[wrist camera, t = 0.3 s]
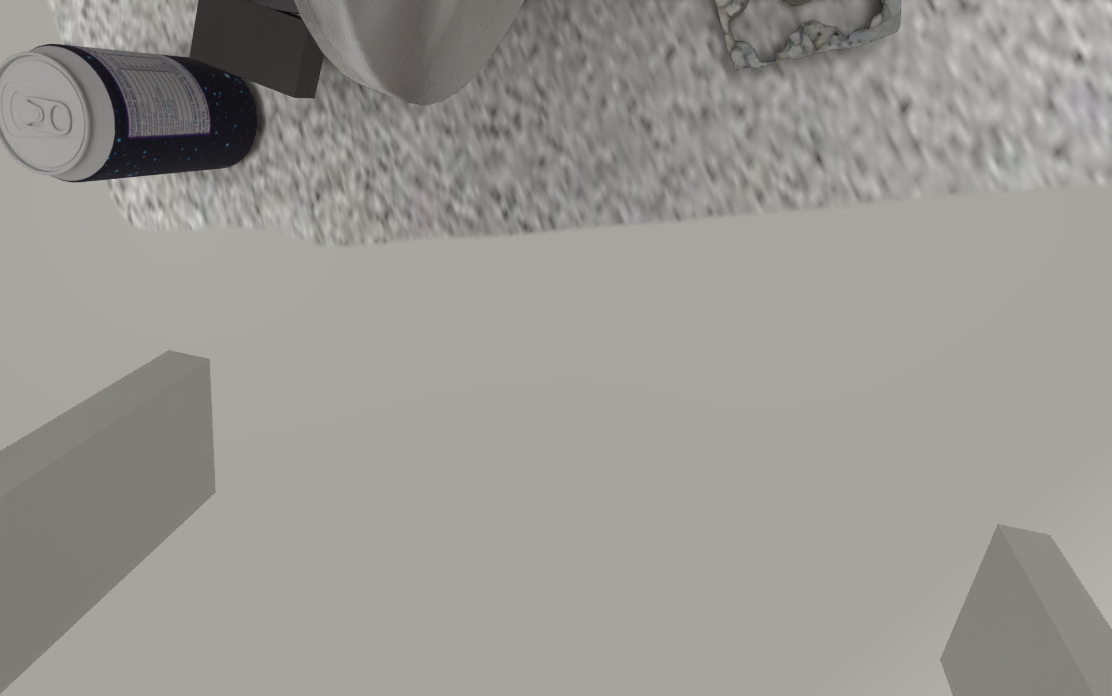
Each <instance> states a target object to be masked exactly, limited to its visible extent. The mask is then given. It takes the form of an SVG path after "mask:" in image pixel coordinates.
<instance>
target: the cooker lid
mask: <svg viewBox="0 0 1112 696" xmlns="http://www.w3.org/2000/svg"><path fill="white" fill-rule="evenodd" d="M294 1H295V4H296V6H297V9H298V11H299V13H300V16H301V18H302V20H303V21H304V23H305V25H306V26H307V28H308V30H309V31H310V33H311V35H312V36H313V38H314V40H315V41H316V43H317V44H318V46H319V48H320V49H321V51H322V52H323V54H324V55H325V56H326V57H327V58H328V59H329V60H330V61H331V62H332V63H333V64H334V65H335V66H336V67H337V68H338V70H339V71H340V72H341V73H342V74H344V75H345V76H347V77H349V78H350V79H352V80H354V81H355V82H357V83H359V84H361V85H362V86H365V87H368V88H370V89H373V90H376V91H378V92H381V93H384V94H387V95H389V96H392V97H395V98H398V99H400V100H403V101H406V102H409V103H414V104H420V105H429V104H433V103H437V102H441V101H444V100H445V99H447V98H449V97H450V96H452V95H453V94H455V93H457V92H458V91H459V90H461V89H462V88H463V87H464V86H465V85H466V84H467V83H468V82H469V81H470V80H471V79H473V78H474V76H475V75H476V74H477V73H478V72H479V70H480V69H481V68H482V67H483V66H484V64H485V63H486V62H487V61H488V60H489V58H490V57H491V55H492V54H493V52H494V51H495V49H496V48H497V46H498V45H499V44H500V42H501V41H502V39H503V38H504V36H505V34H506V33H507V31H508V29H509V27H510V26H511V24H512V22H513V20H514V19H515V17H516V15H517V14H518V12H519V10H520V8H521V6H522V4H523V2H524V0H294Z"/></svg>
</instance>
